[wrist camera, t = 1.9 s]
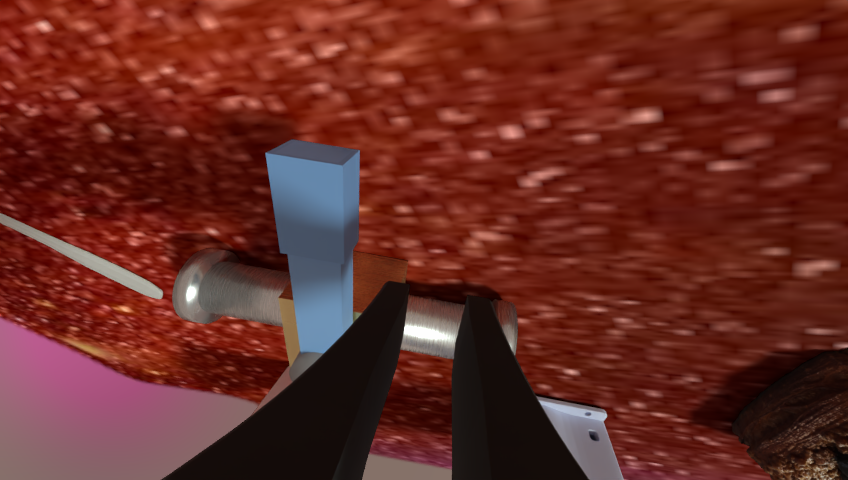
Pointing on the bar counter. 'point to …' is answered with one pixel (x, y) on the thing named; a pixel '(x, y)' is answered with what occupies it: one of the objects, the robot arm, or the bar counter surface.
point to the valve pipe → (273, 300)
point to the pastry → (801, 422)
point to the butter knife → (88, 259)
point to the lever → (317, 238)
